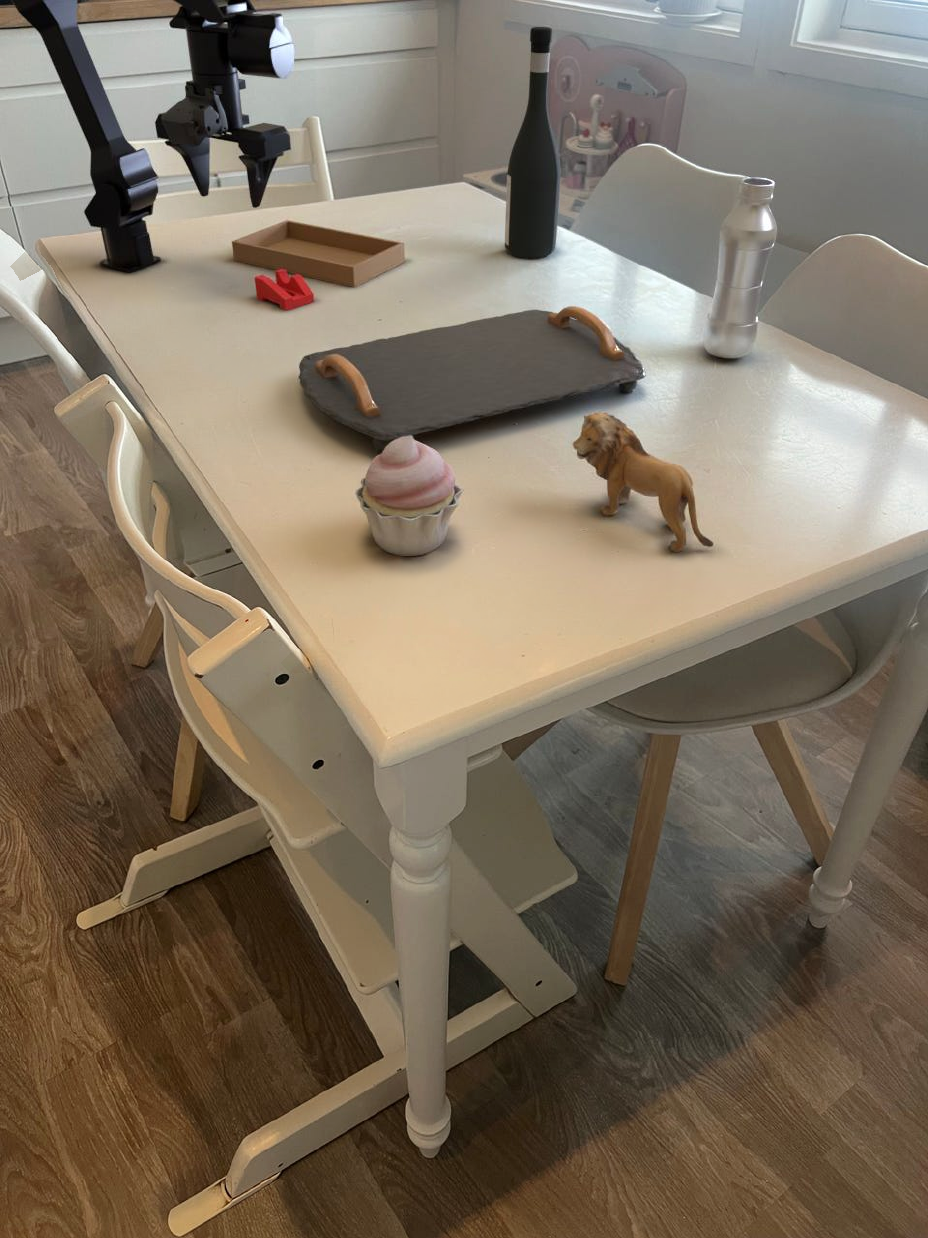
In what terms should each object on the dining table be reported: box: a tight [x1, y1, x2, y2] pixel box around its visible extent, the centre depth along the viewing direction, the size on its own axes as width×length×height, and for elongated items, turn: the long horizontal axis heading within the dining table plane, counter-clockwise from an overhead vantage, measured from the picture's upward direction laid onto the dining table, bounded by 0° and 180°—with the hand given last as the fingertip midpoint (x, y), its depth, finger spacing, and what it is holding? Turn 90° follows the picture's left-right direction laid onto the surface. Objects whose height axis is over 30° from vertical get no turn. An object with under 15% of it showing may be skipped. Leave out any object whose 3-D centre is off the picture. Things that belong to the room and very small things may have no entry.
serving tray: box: [298, 305, 647, 455], centre depth 108 cm, size 39×23×6 cm, turn 119°
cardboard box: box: [231, 219, 406, 288], centre depth 144 cm, size 22×13×3 cm, turn 60°
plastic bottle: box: [702, 177, 778, 359], centre depth 112 cm, size 6×7×20 cm
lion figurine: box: [572, 411, 714, 553], centre depth 85 cm, size 15×5×9 cm, turn 50°
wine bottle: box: [504, 26, 562, 259], centre depth 140 cm, size 8×8×30 cm
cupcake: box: [354, 435, 465, 557], centre depth 82 cm, size 9×9×10 cm
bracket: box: [253, 269, 315, 311], centre depth 131 cm, size 6×5×3 cm
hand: (230, 201), depth 131 cm, fingers open, 9 cm apart
